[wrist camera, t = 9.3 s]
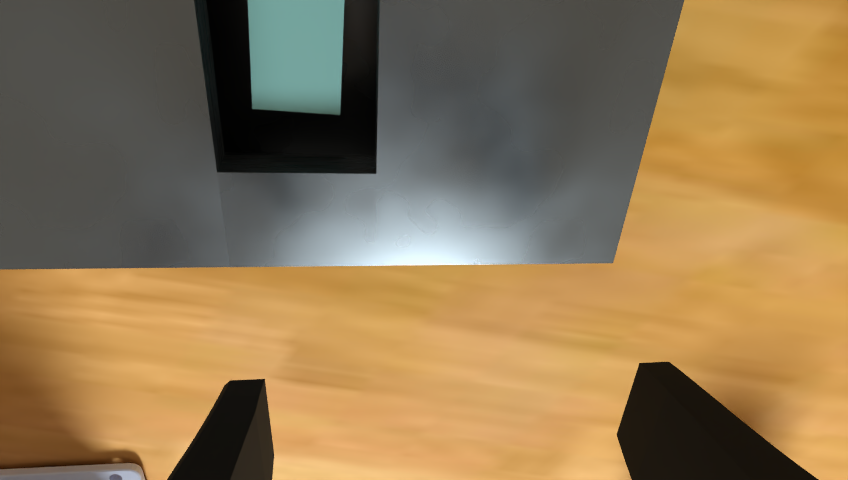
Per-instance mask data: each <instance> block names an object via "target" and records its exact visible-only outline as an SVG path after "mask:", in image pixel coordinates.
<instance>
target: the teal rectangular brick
mask: <svg viewBox="0 0 848 480" xmlns="http://www.w3.org/2000/svg"><path fill="white" fill-rule="evenodd" d="M344 3H345V0H248V19H249V42H250V66H251V90H252V109H261V110H275V111H290V112H305V113H319V114H334V115H340V107H341V83H342V57H343V30H344Z"/></svg>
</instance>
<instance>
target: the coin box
mask: <svg viewBox="0 0 848 480" xmlns="http://www.w3.org/2000/svg"><path fill="white" fill-rule="evenodd" d="M683 3H684V0H345V3H344V30H343V57H342V83H341V107H340V115H334V114H319V113H305V112H290V111H275V110H261V109H252V90H251V66H250V42H249V19H248V0H0V269H84V268H182V267H280V266H378V265H476V264H574V263H613V261H614V257H615V254H616V250H617V246H618V243H619V239H620V235H621V232H622V228H623V224H624V221H625V217H626V213H627V209H628V206H629V202H630V198H631V195H632V191H633V187H634V184H635V180H636V176H637V173H638V169H639V165H640V162H641V158H642V154H643V150H644V147H645V143H646V139H647V136H648V132H649V128H650V125H651V121H652V117H653V114H654V110H655V106H656V102H657V99H658V95H659V91H660V88H661V84H662V80H663V77H664V73H665V69H666V66H667V62H668V58H669V55H670V51H671V47H672V43H673V40H674V36H675V32H676V29H677V25H678V21H679V18H680V14H681V10H682V7H683Z"/></svg>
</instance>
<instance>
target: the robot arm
mask: <svg viewBox="0 0 848 480" xmlns="http://www.w3.org/2000/svg"><path fill="white" fill-rule="evenodd" d="M617 437H618V440H619V443H620V446H621V449H622V453H623V456H624V459H625V462H626V465H627V467H628V470H629V473H630V476H631V479H632V480H818V479H817V478H815V477H814V476H812V475H811V474H810V473H808V472H807V471H806V470H804V469H803V468H802V467H800V466H799V465H797V464H796V463H795V462H794V461H792V460H791V459H790V458H788V457H787V456H786V455H784V454H783V453H782V452H780V451H779V450H778V449H777V448H775V447H774V446H773V445H771V444H770V443H769V442H768V441H766V440H765V439H764V438H763V437H761V436H760V435H759V434H758V433H756V432H755V431H754V430H753V429H751V428H750V427H749V426H748V425H746V424H745V423H744V422H743V421H741V420H740V419H739V418H738V417H736V416H735V415H734V414H733V413H732V412H730V411H729V410H728V409H727V408H726V407H724V406H723V405H722V404H721V403H719V402H718V401H717V400H716V399H715V398H713V397H712V396H711V395H710V394H708V393H707V392H706V391H705V390H704V389H702V388H701V387H700V386H699V385H698V384H696V383H695V382H694V381H693V380H691V379H690V378H689V377H688V376H686V375H685V374H684V373H683V372H681V371H680V370H679V369H678V368H676V367H675V366H674V365H672V364H671V363H670V362H653V363H639V367H638V370H637V373H636V376H635V379H634V382H633V385H632V388H631V392H630V395H629V398H628V401H627V404H626V407H625V410H624V414H623V417H622V420H621V423H620V426H619V429H618V432H617ZM273 461H274V450H273V442H272V434H271V426H270V418H269V410H268V402H267V394H266V386H265V379H256V380H232V381H229V382H228V383H227V384H226V385H225V386H224V388H223V389H222V391H221V393H220V395H219V397H218V399H217V401H216V402H215V404H214V406H213V408H212V410H211V411H210V413H209V415H208V416H207V418H206V420H205V421H204V423H203V425H202V426H201V428H200V430H199V431H198V433H197V435H196V436H195V438H194V439H193V441H192V443H191V444H190V446H189V447H188V449H187V450H186V452H185V453H184V455H183V456H182V458H181V459H180V461H179V462H178V464H177V465H176V467H175V468H174V470H173V471H172V473H171V474H170V476H169V477H168V479H167V480H272V474H273ZM0 480H145V477H144V473H143V470H142V468H141V467H140V466H139V465H137V464H134V463H117V464H97V465H77V466H57V467H36V468H16V469H0Z"/></svg>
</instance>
